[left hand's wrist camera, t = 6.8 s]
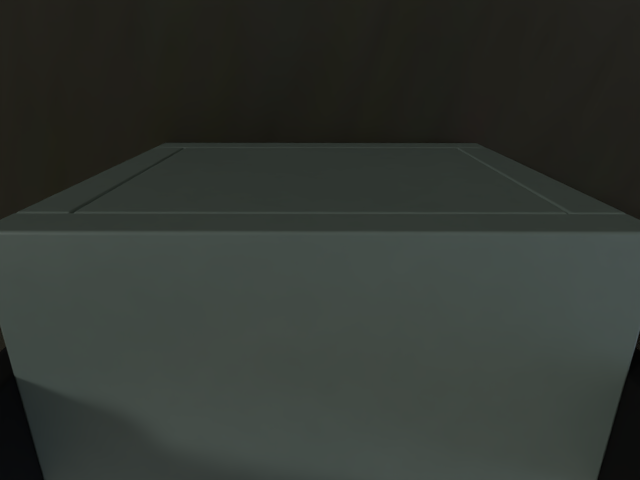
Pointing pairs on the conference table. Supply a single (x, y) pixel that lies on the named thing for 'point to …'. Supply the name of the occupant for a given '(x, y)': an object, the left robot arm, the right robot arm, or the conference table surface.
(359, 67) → the conference table surface
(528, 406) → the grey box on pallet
